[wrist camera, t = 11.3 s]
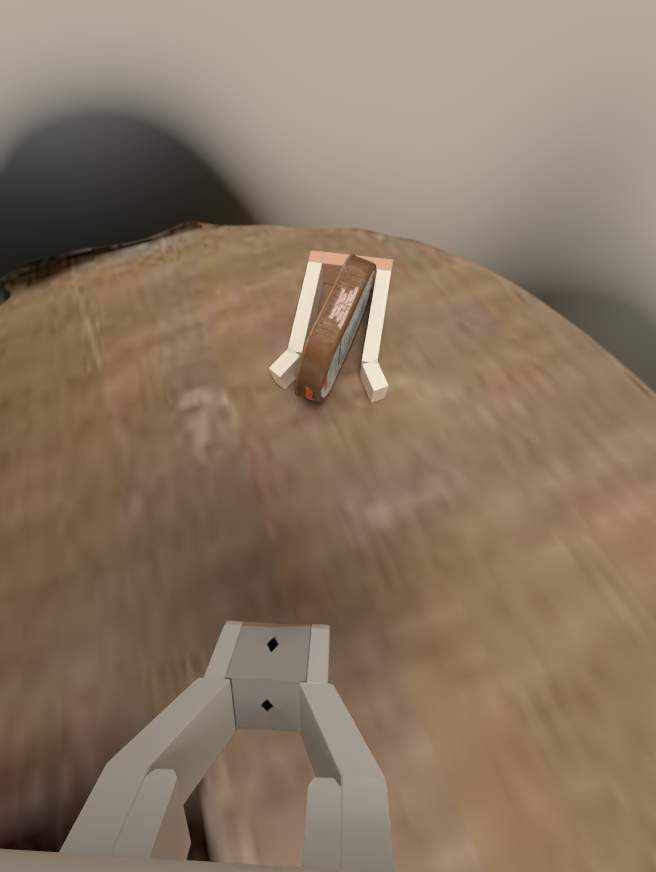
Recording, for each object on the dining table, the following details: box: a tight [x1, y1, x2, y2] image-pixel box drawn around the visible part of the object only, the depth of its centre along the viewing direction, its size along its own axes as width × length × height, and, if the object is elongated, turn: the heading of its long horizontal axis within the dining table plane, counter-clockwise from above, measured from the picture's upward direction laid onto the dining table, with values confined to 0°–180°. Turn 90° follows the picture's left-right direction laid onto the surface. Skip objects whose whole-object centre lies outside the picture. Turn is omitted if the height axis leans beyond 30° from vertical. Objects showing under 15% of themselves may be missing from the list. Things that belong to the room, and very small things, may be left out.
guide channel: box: [269, 251, 393, 403], centre depth 35 cm, size 12×16×3 cm
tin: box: [295, 254, 376, 402], centre depth 32 cm, size 15×3×8 cm, turn 157°
